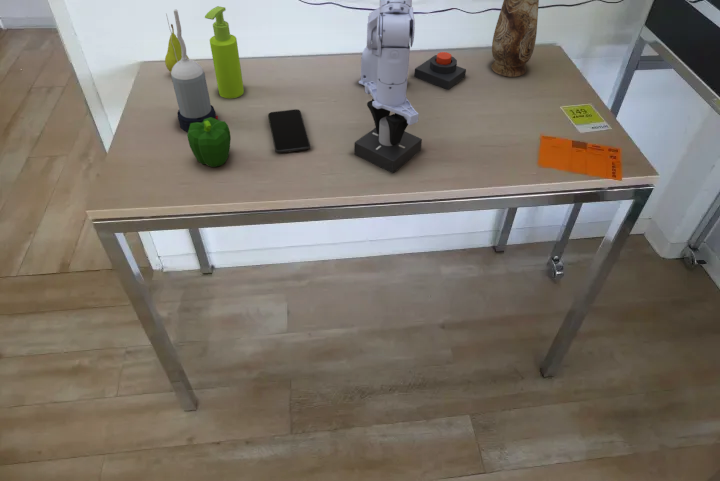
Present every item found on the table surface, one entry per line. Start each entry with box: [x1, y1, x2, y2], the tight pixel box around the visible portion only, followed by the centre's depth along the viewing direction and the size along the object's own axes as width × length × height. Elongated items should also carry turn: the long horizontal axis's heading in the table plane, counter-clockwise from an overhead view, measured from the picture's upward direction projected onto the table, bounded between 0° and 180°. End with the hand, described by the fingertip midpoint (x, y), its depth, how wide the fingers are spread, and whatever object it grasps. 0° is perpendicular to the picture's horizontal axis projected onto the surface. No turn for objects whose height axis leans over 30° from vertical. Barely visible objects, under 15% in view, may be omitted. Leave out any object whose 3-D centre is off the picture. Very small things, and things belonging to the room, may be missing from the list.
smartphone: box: [267, 109, 311, 154], centre depth 122 cm, size 7×1×15 cm
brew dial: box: [379, 117, 393, 146], centre depth 114 cm, size 4×4×5 cm
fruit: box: [164, 23, 190, 73], centre depth 135 cm, size 6×6×12 cm
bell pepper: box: [186, 117, 232, 168], centre depth 112 cm, size 8×8×10 cm
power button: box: [436, 51, 453, 65], centre depth 138 cm, size 4×4×2 cm
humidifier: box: [165, 9, 219, 133], centre depth 116 cm, size 8×8×25 cm
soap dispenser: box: [204, 5, 245, 99], centre depth 127 cm, size 6×7×20 cm
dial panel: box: [353, 127, 423, 174], centre depth 117 cm, size 10×10×3 cm
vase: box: [491, 0, 540, 78], centre depth 134 cm, size 10×11×30 cm
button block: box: [413, 54, 467, 90], centre depth 140 cm, size 10×8×4 cm
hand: (388, 137), depth 115 cm, fingers closed on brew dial, 4 cm apart
